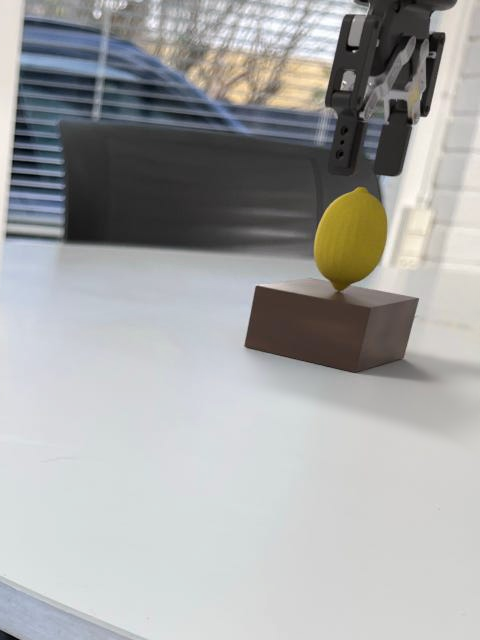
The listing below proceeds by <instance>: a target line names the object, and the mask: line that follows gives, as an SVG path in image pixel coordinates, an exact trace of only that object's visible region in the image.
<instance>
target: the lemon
mask: <svg viewBox="0 0 480 640" xmlns="http://www.w3.org/2000/svg"><path fill="white" fill-rule="evenodd" d="M387 238H388V216H387V212H386V210H385V207H384V205H383V204H382V203H381V201H380V200H379V199H378V198H377V197H376V196H375V195H372V194H371V193H369V191H368V188H367V187H364V186H358V187H356V188H355V189H354V190H353V191H349V192H347V193H344V194H342V195H340V196H339V197H337V198H336V199H334V200H333V201H332V202H331V203H330V204H329V205H328V207H327V208H326V209H325V211H324V213H323V214H322V217H321V219H320V221H319V223H318V226H317V229H316V232H315V237H314V243H313V257H314V262H315V266H316V268H317V270H318V272H319V273H320V274H321V275H322V276H323V277H324V278H325V279H326V280H327V281H330V282H331V284H332V285H333V287H334V289H335V290H337V291H343V290H345V289H346V288H347V287H348V286H349V285H353V284H355V283H358V282H361V281H362V280H364V279H366V278H367V277H368V276H369V275H371V274H372V273H373V272H374V270H375V269H376V268H377V266H378V264H379V263H380V261H381V259H382V257H383V254H384V251H385V249H386V245H387Z"/></svg>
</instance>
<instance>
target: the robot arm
mask: <svg viewBox="0 0 480 640" xmlns="http://www.w3.org/2000/svg"><path fill="white" fill-rule="evenodd" d="M352 2H353V3H354V4H356V5H358V6H361V7H366V8H367V11H366V14H358V13H357V14H356V13H346V14H344V16H343V18H342V21H341V24H340V29H339V33H338V38H337V42H336V48H335V51H334V55H333V61H332V65H331V70H330V73H329V79H328V84H327V88H326V93H325V97H324V107H325V108H329V109H330V108H331V109H333V112H332V113H333V118H334V119H336V123H335V128H334V133H333V137H332V142H331V148H330V152H329V158H328V162H327V168H326V169H327V172H328V173H329V174H330V175H333V176H340V177H341V176H342V177H354V176H356V175H357V174H358V172H359V169H360V164H361V160H362V155H363V151H364V146H365V142H366V137H367V132H368V127H369V122H367V121H369V119H370V117H371V115H372V114H373V112H374V110H375V108H376V106H377V103H378V101H379V100H380V99H381V100H382V102H383V115H384V116H383V117H384V118H383V119H384V122H385V123H386V124H385V123H382V126H381V130H380V134H379V139H378V144H377V147H376V153H375V158H374V162H373V166H372V172H373V173H374V175H376V176H384V177H392V178H393V177H395V178H396V177H399V176H400V175H401V174H402V172H403V169H404V164H405V161H406V156H407V152H408V148H409V143H410V139H411V135H412V131H413V126H416V125H418V123H419V121H420V118H428V116H429V114H430V112H431V107H432V102H433V98H434V95H435V94H434V93H435V89H436V84H437V79H438V75H439V71H440V66H441V61H442V58H443V53H444V48H445V43H446V39H447V37H446V32H444V31H435V30H434V31H433V30H430V28H431V17H432V15H433V14H434V13H435V12H436V11H438V12H445V11H448V10H451V9H452V8H454V7H455V6H456V5H457V3H458V0H352ZM342 85H343V89H341V87H342Z"/></svg>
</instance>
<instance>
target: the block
mask: <svg viewBox="0 0 480 640" xmlns="http://www.w3.org/2000/svg"><path fill="white" fill-rule="evenodd" d="M419 301H420V298H419V297H415V296H410V295H404V294H399V293H395V292H389V291H385V290H384V291H383V290H377V289H373V288H368V287H361V286H357V285H353V284H351V285H349V286H348V287H347V288H346V289H345V290H343V291H337V290H335V289H334V287H333V285H332V284H331V282H330V281H329V280H324V279H320V278H319V279H318V278H314V277H307V278H299V279H293V280H292V279H291V280H284V281H277V282H271V283H263V284H255V287H254V293H253V297H252V303H251V307H250V308H251V309H250V314H249V320H248V325H247V330H246V334H245V340H244V345H243V347H245V348H248V349H252V350H257V351H261V352H265V353H270V354H273V355H278V356H282V357H287V358H290V359H296V360H299V361H304V362H307V363H308V362H309V363H313V364H316V365H321V366H324V367H325V366H326V367H329V368H333V369H337V370H342V371H347V372H351V373H358V372H361V371H364V370H368V369H372V368H375V367H378V366H382V365H385V364H388V363H389V364H390V363H393V362H395V361H398V360H403V359H404V358H405V355H406V351H407V348H408V343H409V341H410V336H411V333H412V328H413V324H414V321H415V317H416V312H417V309H418V305H419Z"/></svg>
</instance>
